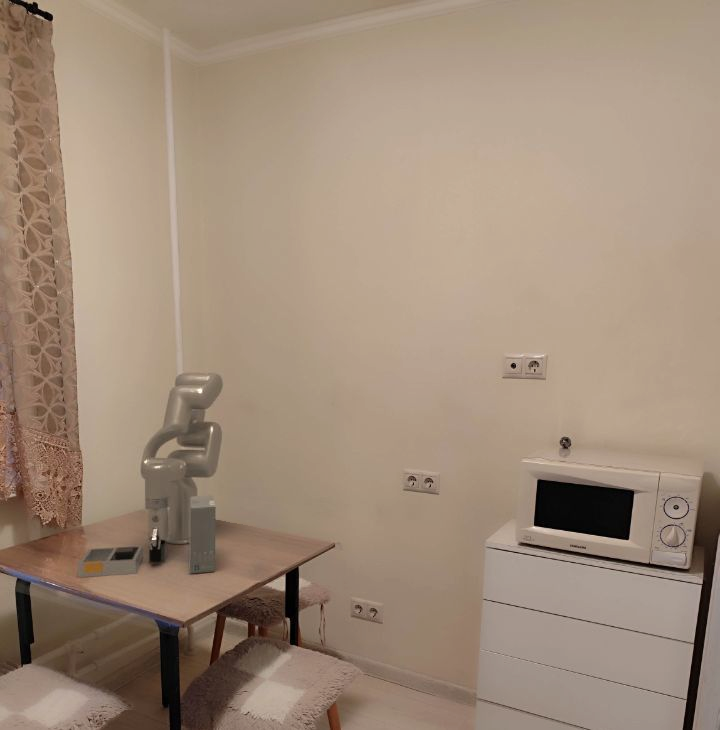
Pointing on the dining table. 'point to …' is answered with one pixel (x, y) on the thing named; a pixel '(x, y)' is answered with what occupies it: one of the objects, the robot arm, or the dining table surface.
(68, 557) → the dining table surface
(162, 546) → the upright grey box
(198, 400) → the robot arm
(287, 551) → the dining table surface
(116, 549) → the grey divided tray
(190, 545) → the hard drive box
